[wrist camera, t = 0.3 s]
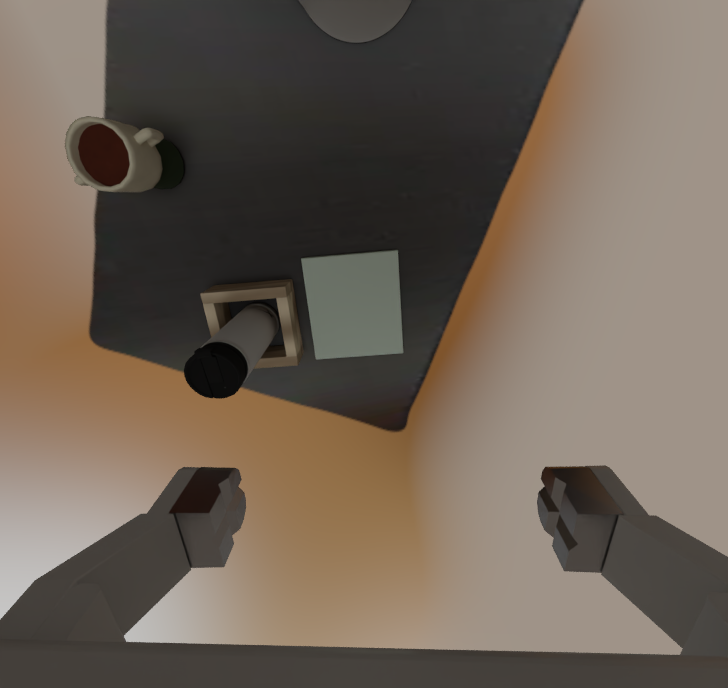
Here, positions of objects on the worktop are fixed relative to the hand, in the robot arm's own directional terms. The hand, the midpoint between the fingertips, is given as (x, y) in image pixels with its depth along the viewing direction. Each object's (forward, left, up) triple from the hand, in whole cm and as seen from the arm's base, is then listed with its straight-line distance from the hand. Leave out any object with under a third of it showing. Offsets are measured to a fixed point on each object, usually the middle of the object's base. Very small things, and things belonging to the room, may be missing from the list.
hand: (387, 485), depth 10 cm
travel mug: (+10, -19, -48) cm, 52 cm away
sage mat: (+9, -4, -48) cm, 49 cm away
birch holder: (+10, -19, -48) cm, 52 cm away
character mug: (-13, -28, -48) cm, 57 cm away
